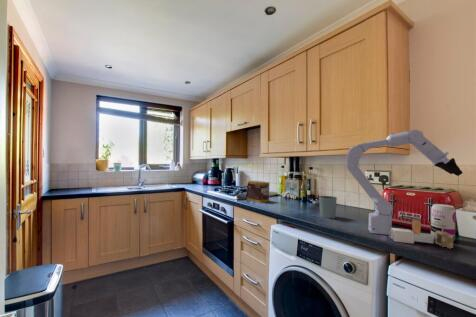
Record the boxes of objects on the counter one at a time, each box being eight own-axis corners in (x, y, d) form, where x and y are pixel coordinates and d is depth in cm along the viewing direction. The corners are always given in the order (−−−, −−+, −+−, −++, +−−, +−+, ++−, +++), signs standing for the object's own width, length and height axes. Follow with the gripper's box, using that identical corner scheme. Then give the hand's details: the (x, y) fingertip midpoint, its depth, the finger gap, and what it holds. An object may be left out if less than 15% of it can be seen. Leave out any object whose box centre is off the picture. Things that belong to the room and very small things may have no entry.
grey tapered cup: (337, 219, 136) (338, 198, 136) (319, 218, 138) (320, 197, 138) (334, 215, 146) (334, 196, 146) (317, 214, 148) (317, 195, 148)
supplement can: (454, 239, 106) (455, 205, 106) (455, 243, 99) (455, 208, 100) (431, 234, 111) (431, 203, 111) (430, 238, 105) (430, 205, 105)
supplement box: (260, 202, 184) (261, 182, 184) (246, 199, 195) (247, 181, 195) (269, 201, 191) (269, 182, 191) (255, 198, 202) (255, 180, 202)
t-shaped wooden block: (391, 238, 101) (391, 219, 101) (389, 236, 104) (389, 217, 104) (433, 243, 96) (433, 223, 97) (430, 241, 99) (430, 221, 99)
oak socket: (442, 247, 94) (442, 235, 94) (435, 242, 100) (435, 230, 100) (452, 248, 93) (453, 236, 93) (445, 243, 99) (445, 231, 99)
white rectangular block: (394, 241, 100) (394, 230, 100) (391, 238, 105) (391, 227, 105) (413, 243, 98) (414, 232, 98) (409, 240, 102) (410, 229, 102)
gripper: (443, 144, 98) (473, 168, 94) (433, 144, 111) (459, 166, 107) (428, 156, 101) (456, 180, 97) (420, 155, 114) (444, 176, 110)
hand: (456, 173), depth 102 cm, fingers open, 7 cm apart
